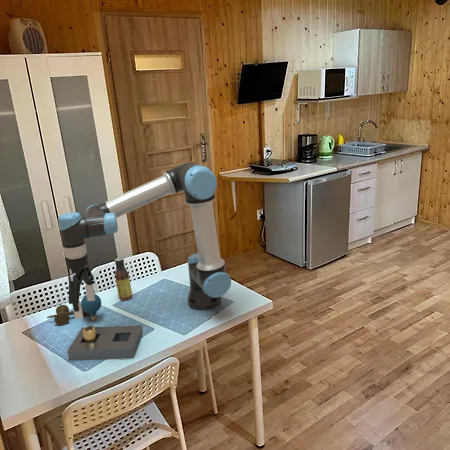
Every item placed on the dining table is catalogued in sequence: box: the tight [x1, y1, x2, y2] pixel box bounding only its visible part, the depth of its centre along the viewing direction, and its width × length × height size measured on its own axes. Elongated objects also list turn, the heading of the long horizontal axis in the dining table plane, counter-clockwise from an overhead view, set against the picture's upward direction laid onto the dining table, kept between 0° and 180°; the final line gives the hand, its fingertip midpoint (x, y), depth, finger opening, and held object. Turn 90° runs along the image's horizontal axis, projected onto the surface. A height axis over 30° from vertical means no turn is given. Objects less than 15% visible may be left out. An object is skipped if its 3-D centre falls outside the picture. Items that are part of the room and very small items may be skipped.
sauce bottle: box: [114, 257, 133, 302], centre depth 199 cm, size 6×6×20 cm
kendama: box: [46, 304, 90, 326], centre depth 186 cm, size 6×10×20 cm
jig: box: [66, 324, 143, 361], centre depth 164 cm, size 24×16×4 cm, turn 89°
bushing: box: [83, 325, 97, 343], centre depth 163 cm, size 4×4×8 cm
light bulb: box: [80, 293, 102, 321], centre depth 183 cm, size 8×8×12 cm
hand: (85, 308), depth 159 cm, fingers open, 13 cm apart
